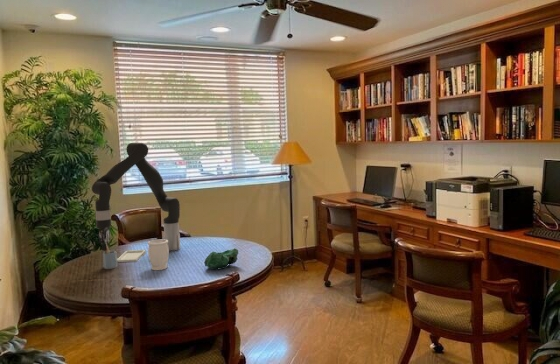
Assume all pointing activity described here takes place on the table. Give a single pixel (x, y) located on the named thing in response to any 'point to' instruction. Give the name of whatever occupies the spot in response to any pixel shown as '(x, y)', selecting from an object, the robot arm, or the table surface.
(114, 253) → the cup
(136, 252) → the tray
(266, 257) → the table surface
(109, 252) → the pin
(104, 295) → the table surface
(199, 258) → the table surface
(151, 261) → the jar
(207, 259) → the mineral
